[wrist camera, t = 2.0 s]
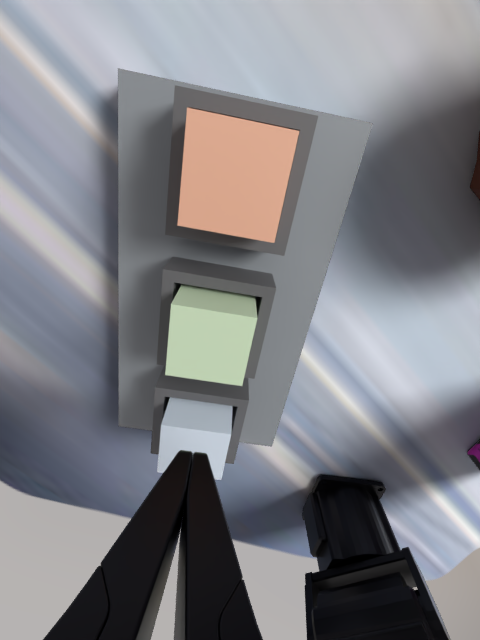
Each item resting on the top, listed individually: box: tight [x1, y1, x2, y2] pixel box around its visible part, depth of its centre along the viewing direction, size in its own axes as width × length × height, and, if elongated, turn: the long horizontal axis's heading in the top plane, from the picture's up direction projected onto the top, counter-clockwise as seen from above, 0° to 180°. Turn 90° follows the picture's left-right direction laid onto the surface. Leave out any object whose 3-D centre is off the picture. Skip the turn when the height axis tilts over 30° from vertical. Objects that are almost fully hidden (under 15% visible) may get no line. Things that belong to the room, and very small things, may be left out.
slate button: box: [157, 397, 232, 480], centre depth 19 cm, size 4×4×3 cm
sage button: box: [165, 284, 257, 386], centre depth 16 cm, size 4×4×3 cm
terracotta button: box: [177, 108, 299, 243], centre depth 13 cm, size 4×4×3 cm
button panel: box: [118, 68, 373, 464], centre depth 18 cm, size 12×22×4 cm, turn 170°
